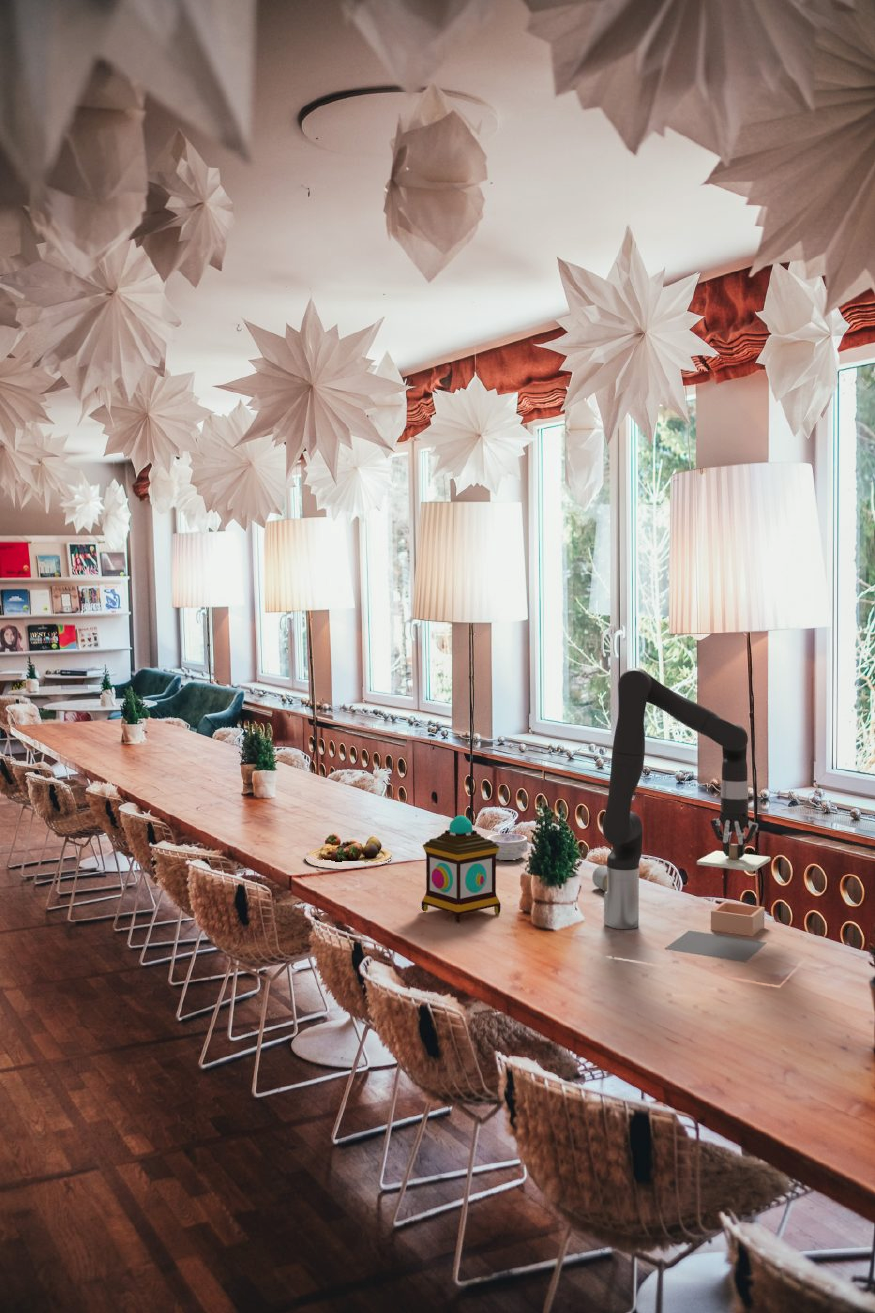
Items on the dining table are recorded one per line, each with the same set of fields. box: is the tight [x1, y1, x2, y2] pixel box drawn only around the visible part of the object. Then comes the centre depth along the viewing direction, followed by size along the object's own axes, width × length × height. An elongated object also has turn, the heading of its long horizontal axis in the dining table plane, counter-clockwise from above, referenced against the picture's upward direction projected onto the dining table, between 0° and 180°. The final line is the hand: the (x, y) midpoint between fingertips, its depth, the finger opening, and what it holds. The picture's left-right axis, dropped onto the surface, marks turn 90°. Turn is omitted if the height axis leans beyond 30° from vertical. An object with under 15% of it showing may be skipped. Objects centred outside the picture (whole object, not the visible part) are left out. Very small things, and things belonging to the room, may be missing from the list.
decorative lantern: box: [421, 814, 502, 924], centre depth 340 cm, size 20×20×30 cm
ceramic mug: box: [592, 865, 607, 893], centre depth 368 cm, size 11×8×8 cm
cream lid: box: [696, 843, 772, 872], centre depth 318 cm, size 16×16×5 cm
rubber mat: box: [664, 930, 767, 963], centre depth 306 cm, size 22×20×1 cm
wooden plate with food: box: [308, 833, 393, 863], centre depth 414 cm, size 32×32×8 cm
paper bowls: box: [485, 833, 528, 861], centre depth 415 cm, size 15×15×8 cm
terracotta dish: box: [710, 901, 766, 937], centre depth 323 cm, size 12×12×6 cm
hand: (734, 856), depth 318 cm, fingers closed on cream lid, 3 cm apart
